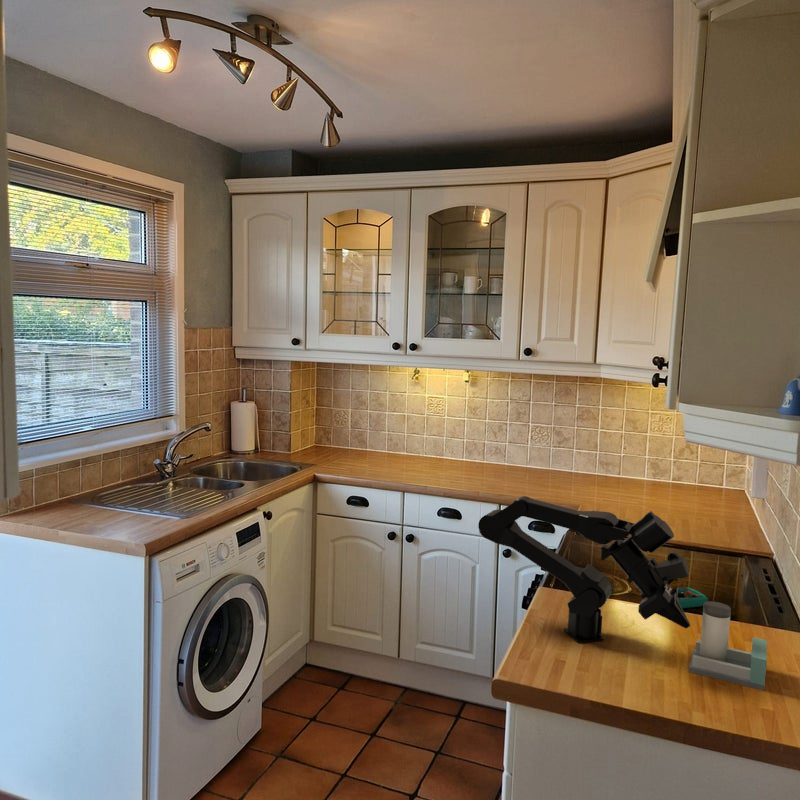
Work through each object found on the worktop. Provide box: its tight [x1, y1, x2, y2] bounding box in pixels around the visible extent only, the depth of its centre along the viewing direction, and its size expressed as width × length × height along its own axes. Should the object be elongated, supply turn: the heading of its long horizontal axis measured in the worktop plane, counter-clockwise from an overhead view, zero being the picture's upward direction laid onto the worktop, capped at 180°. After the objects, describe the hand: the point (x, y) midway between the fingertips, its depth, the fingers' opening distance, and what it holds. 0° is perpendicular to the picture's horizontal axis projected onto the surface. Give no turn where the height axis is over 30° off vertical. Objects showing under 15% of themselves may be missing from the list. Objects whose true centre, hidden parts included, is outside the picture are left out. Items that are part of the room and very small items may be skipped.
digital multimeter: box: [677, 586, 709, 609], centre depth 170 cm, size 7×15×3 cm, turn 109°
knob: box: [700, 600, 732, 662], centre depth 136 cm, size 5×5×11 cm
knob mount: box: [688, 637, 768, 691], centre depth 135 cm, size 13×10×6 cm
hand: (688, 626), depth 138 cm, fingers closed
